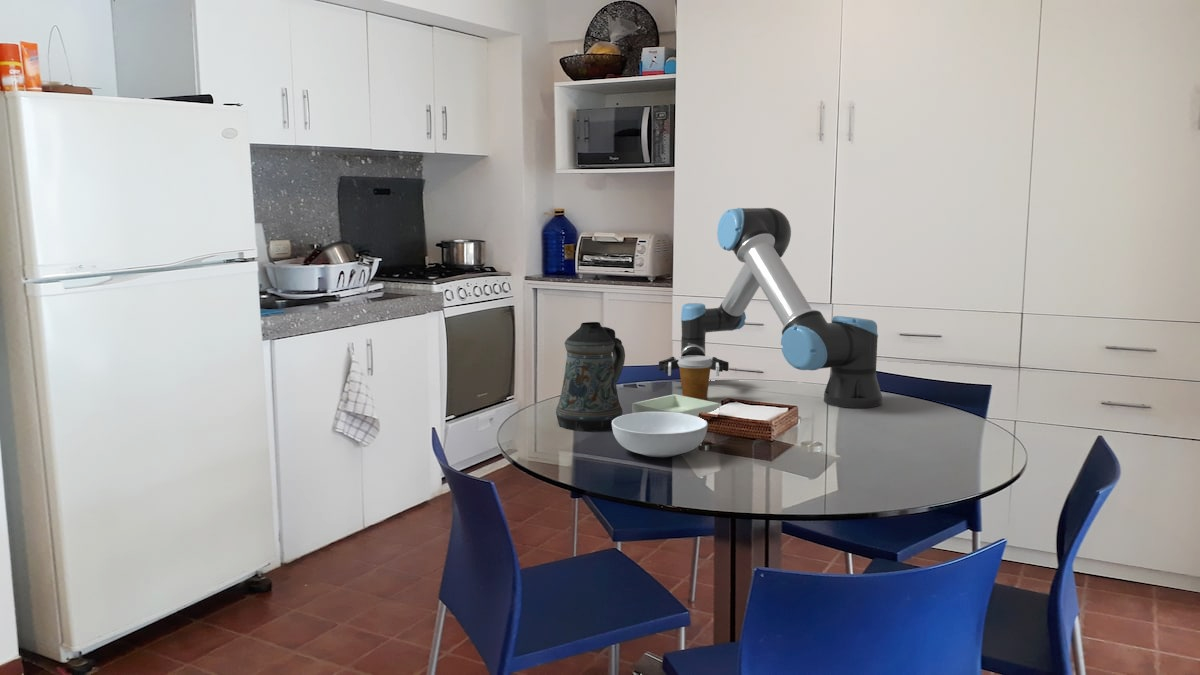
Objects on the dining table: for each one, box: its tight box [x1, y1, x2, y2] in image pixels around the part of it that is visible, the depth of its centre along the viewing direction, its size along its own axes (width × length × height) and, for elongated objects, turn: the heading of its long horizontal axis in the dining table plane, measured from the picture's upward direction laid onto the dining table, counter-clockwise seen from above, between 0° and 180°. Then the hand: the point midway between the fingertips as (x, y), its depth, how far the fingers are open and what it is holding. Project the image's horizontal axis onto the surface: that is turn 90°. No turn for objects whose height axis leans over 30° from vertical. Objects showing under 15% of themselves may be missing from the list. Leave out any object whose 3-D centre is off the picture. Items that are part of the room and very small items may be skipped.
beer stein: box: [555, 321, 626, 432], centre depth 221 cm, size 16×19×25 cm
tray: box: [631, 393, 720, 417], centre depth 227 cm, size 16×16×4 cm
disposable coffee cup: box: [677, 355, 712, 401], centre depth 244 cm, size 10×10×12 cm
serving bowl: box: [611, 412, 709, 458], centre depth 195 cm, size 21×21×7 cm
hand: (693, 371), depth 251 cm, fingers open, 13 cm apart
